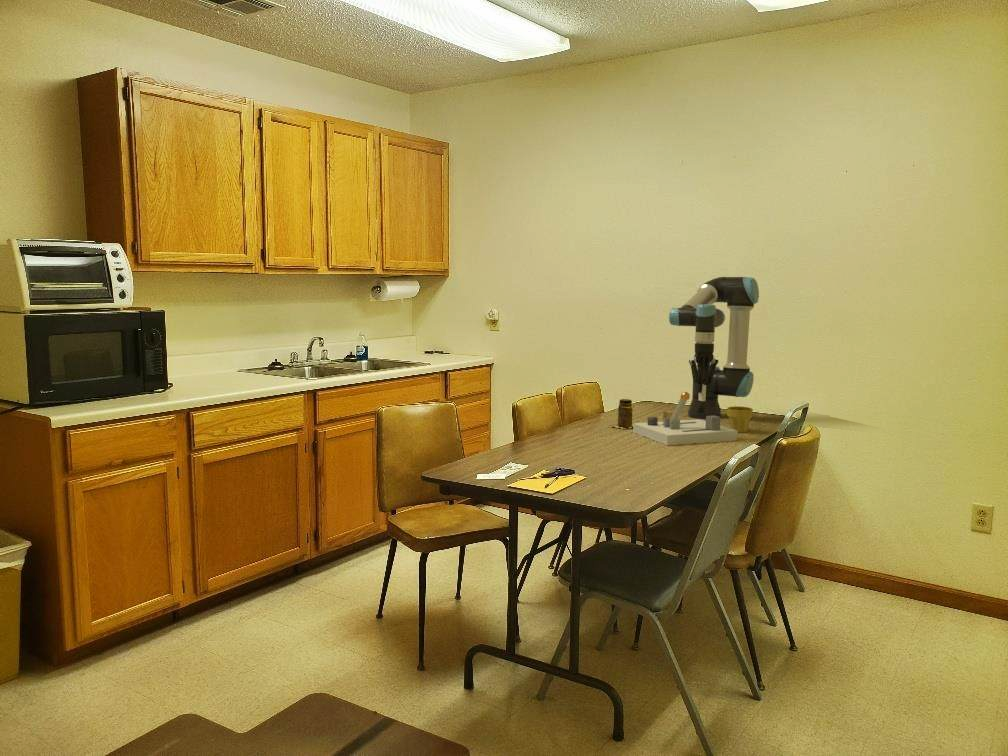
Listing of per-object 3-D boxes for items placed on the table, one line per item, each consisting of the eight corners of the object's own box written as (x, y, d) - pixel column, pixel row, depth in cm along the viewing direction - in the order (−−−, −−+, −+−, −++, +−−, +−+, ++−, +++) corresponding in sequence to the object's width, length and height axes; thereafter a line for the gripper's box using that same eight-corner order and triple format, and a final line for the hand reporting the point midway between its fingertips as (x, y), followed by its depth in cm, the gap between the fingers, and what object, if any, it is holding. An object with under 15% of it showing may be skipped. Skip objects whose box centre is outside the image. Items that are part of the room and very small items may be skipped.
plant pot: (726, 432, 322) (727, 409, 321) (725, 428, 332) (726, 405, 331) (752, 434, 320) (753, 410, 319) (750, 429, 330) (751, 406, 329)
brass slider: (671, 422, 321) (671, 410, 321) (676, 424, 317) (677, 412, 317) (663, 423, 320) (663, 411, 319) (668, 424, 316) (668, 412, 315)
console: (698, 428, 331) (699, 411, 330) (736, 440, 307) (737, 421, 306) (633, 432, 320) (633, 415, 319) (667, 445, 296) (667, 426, 295)
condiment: (636, 427, 332) (637, 400, 331) (624, 430, 326) (624, 402, 325) (622, 425, 337) (623, 398, 336) (610, 427, 332) (611, 400, 330)
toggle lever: (672, 425, 313) (687, 393, 314) (677, 426, 310) (693, 394, 310) (665, 421, 312) (681, 389, 312) (670, 423, 308) (686, 391, 309)
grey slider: (714, 427, 311) (714, 415, 310) (720, 429, 307) (720, 417, 306) (705, 428, 309) (706, 415, 309) (711, 430, 306) (712, 417, 305)
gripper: (696, 343, 306) (693, 402, 308) (723, 343, 310) (720, 401, 313) (685, 342, 313) (682, 399, 315) (712, 341, 317) (709, 398, 320)
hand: (701, 400), depth 314 cm, fingers closed
